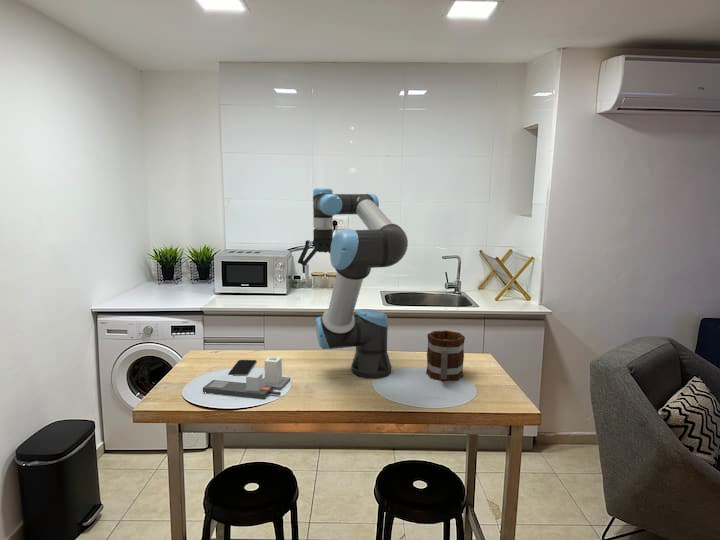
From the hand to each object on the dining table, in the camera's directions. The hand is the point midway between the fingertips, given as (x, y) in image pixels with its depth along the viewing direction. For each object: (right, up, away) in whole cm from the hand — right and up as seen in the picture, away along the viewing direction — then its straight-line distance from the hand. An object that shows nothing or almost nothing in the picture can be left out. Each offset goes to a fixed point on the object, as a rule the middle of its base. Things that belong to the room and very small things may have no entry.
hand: (323, 282), depth 197 cm
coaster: (-16, -35, -23) cm, 45 cm away
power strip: (-24, -36, -30) cm, 53 cm away
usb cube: (-21, -34, -32) cm, 51 cm away
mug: (+45, -35, -16) cm, 59 cm away
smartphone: (-30, -33, -8) cm, 45 cm away
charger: (-16, -34, -23) cm, 44 cm away
